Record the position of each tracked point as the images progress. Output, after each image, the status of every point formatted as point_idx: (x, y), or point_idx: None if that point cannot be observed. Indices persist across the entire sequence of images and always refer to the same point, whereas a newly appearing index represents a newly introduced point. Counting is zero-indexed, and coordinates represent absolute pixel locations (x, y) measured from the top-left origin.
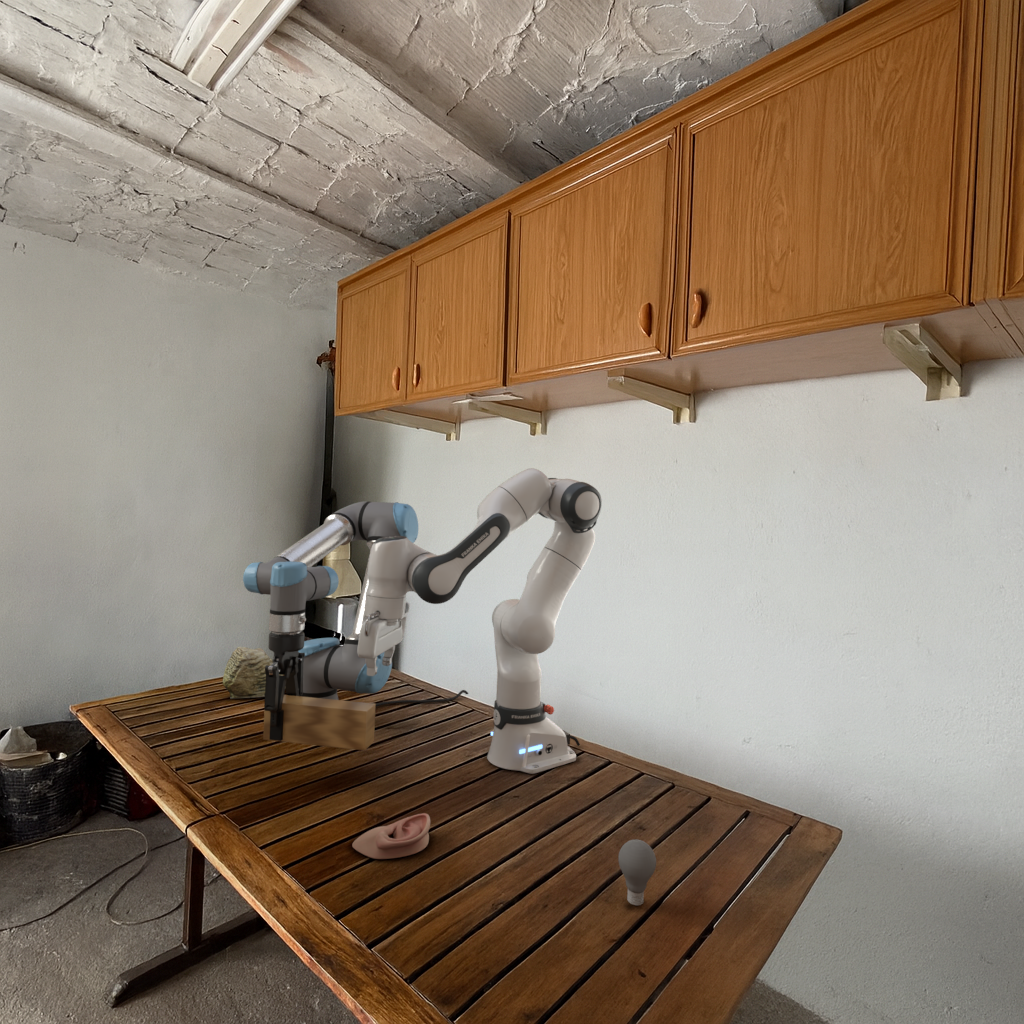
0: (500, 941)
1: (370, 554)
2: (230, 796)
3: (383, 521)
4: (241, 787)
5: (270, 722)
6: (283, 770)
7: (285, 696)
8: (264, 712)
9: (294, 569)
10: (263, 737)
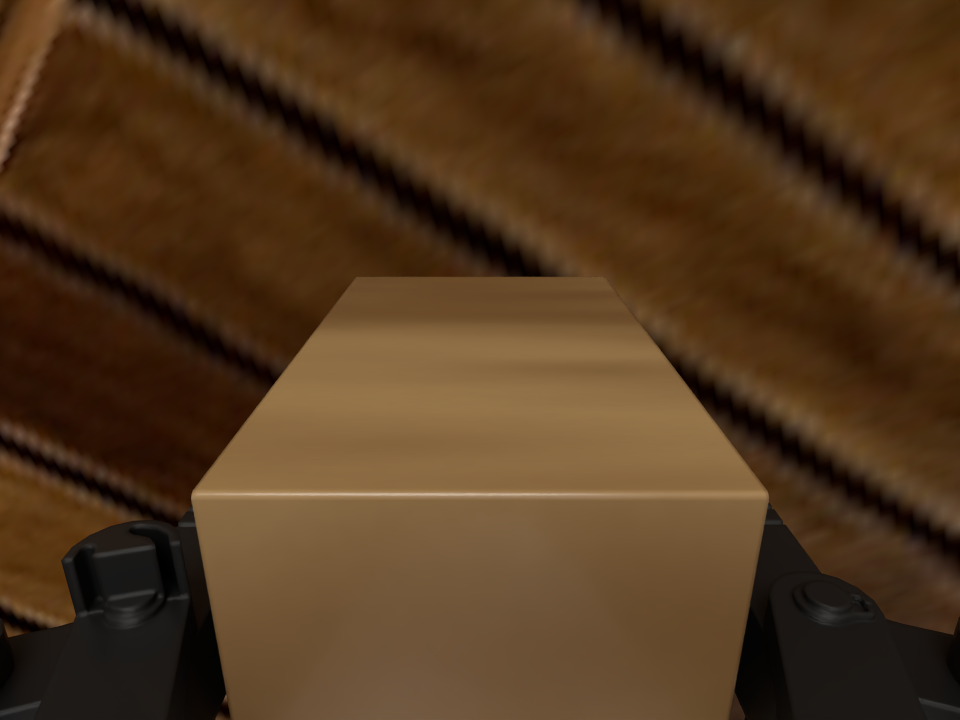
0: None
1: None
2: (160, 141)
3: None
4: (287, 137)
5: (190, 508)
6: (579, 264)
7: (634, 707)
8: (271, 391)
9: None
10: (350, 284)
